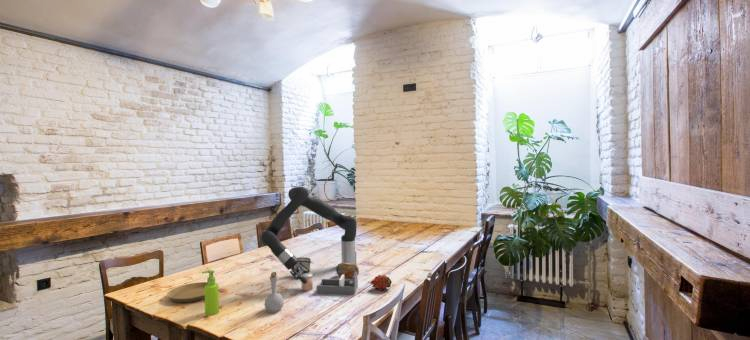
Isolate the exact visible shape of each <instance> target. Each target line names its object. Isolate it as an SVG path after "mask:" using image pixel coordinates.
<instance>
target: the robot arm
mask: <svg viewBox="0 0 750 340" xmlns="http://www.w3.org/2000/svg"><path fill="white" fill-rule="evenodd" d="M287 195H288V198H289V199H290V201H289V202H288V204H287V205H285V206H284V207H283V208H282V209H281V210H280V211H278V213H277V214H276V215H275V216H274V217H273V219H272V221H271V222H270V224H269V226H268V227H267V229H266V230H264V231H263V232H262V233H261V236H260V243H261V244H262V245H263V246H267V247H268V248H269V249H270V251H271V253H272V254H273V255H274V257H276V258H277V259H278V261H279V262H280V263H281V264H282V265H283V266H284V267H285V268H286V269H287V271H289V274H291V275H292V276H293V278H294V279H296V281H299V280H300V282H301V283H302V282H303V283H304V284H305V283H306V282H307V280H306V279H305V278H304V277H302V274H301V273H304V274H305V273H309V272H308V270H307V269H308V268H307V267H306V266H305V265H304V264H303V263H302V262H300V263H297V262H298V259H297V258H298V257H297V256H296V255H294V253H293V252H291V250H289V249H288V247H286V245H284V244H283V243H282V242H281V241H280V239H279V238H278V235H279V233H280V231H282V229H284V227H285V225H286V224H287V222H288V221H289V220H290V218H291V217H292V215H293V214H294V213H295V212H296V211H297V210H298V209H299V207H301V206H302V207H305V208H306V209H308V210H309V211H311V212H313V213H314V214H316V215H317V216H319V217H321V218H322V219H323V218H324V219H325V220H328V221H330V222H332V223H334V224H335V225H337V226H338V227H339V228H340V229H342V230H344V234H343V235H341V237H340V239H341V240H340V241H341V243H340V244H341V248H340V250H341V263H349V264H355V265H356V266H358V263H357V260H358V259H357V250H356V236H357V225H358V224H357V219H356V218H355V217H354V216H353V217H352V216H351V215H350V216H349V215H345V214H342V213H340V212H338V211H337V210H336V209H335V208H334V207H333V206H332V204H329V203H328V202H327V201H325V200H322V199H319V198H316V197H313V196H310V195H309V190H308V189H307V188H306V187H304V186H296V187H292V188H290V189H289V191H288V194H287Z"/></svg>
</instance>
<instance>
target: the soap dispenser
mask: <svg viewBox="0 0 750 340" xmlns="http://www.w3.org/2000/svg"><path fill="white" fill-rule="evenodd" d="M215 272H216V271H215V270H212V269H209V270H203V271H202V272H201V274H208V277H206V278H207V280H206V282H207V285H205V286H204V287H205V299H204V314H206V315H205V316H208V315H211V316H215V315H217V314H219V313H220V303H219V302H220V301H219V299H220V297H219V283H216V277H215V276H214V273H215Z"/></svg>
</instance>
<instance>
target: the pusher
mask: <svg viewBox="0 0 750 340" xmlns="http://www.w3.org/2000/svg"><path fill="white" fill-rule="evenodd" d="M339 277H340V276H339ZM344 280H345V277H344V275H343V274H342V276H341V277H340V278H339V286H344V285H345V283H344Z"/></svg>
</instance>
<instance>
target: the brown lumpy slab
mask: <svg viewBox="0 0 750 340" xmlns="http://www.w3.org/2000/svg"><path fill="white" fill-rule="evenodd" d="M355 272H357V277H359V273H360V270H359V266H358V265H355V264H349V263H342V262H340V263H338V264H337V265H336V274H337V275H338V276H339V277H341V276H342V274H343V275H344V279H350V280H353V276H354V274H355Z"/></svg>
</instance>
